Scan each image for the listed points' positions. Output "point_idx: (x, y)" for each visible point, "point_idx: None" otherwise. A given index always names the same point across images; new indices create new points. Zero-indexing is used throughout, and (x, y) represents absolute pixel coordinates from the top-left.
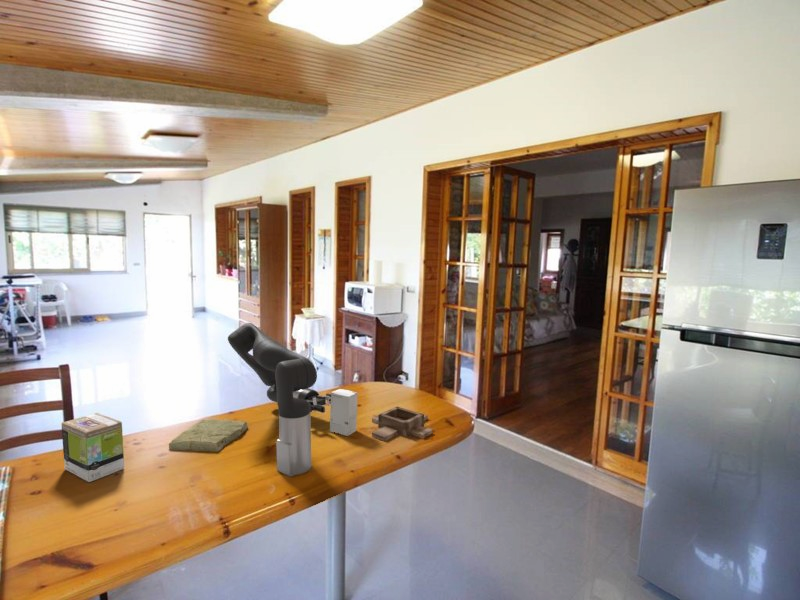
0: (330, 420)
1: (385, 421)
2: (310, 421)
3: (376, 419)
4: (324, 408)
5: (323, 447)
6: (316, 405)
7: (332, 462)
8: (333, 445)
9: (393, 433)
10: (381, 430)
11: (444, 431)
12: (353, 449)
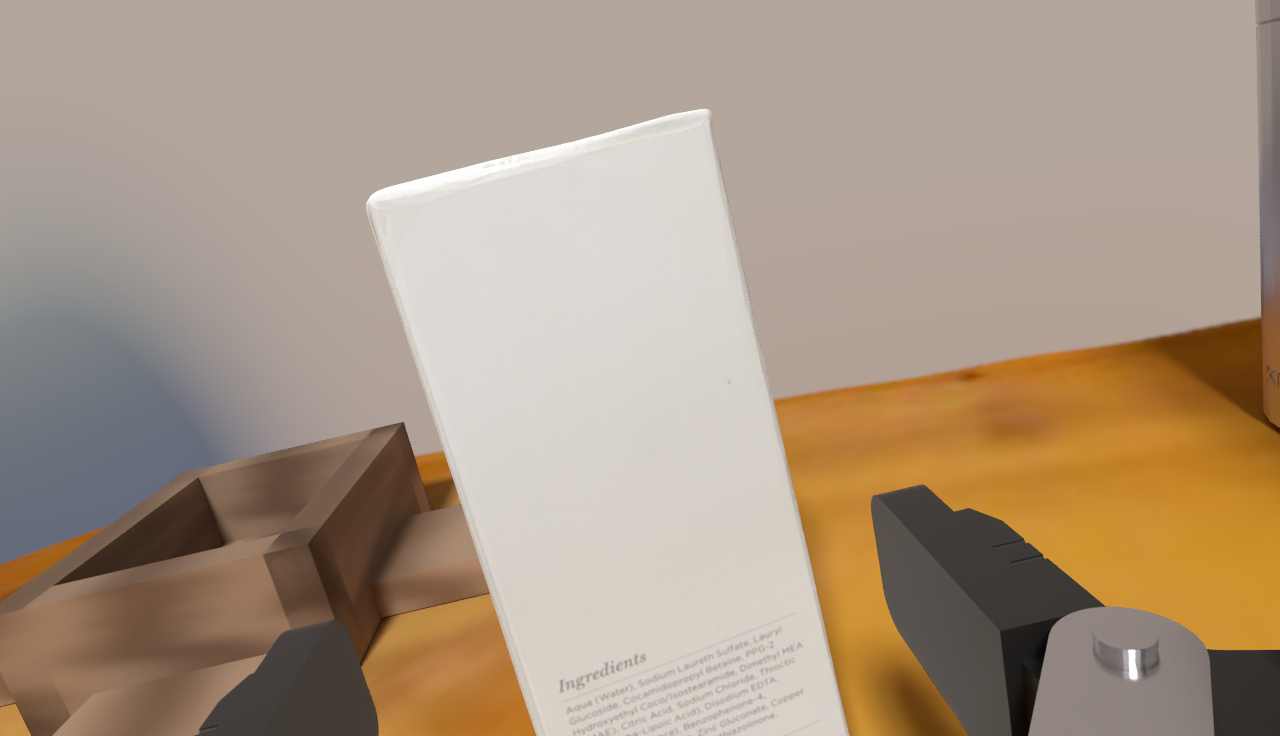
0: (833, 667)
1: (356, 543)
2: (1257, 21)
3: None
4: (884, 519)
5: (1103, 566)
6: (1073, 638)
7: (1069, 425)
8: None
9: None
10: None
11: None
12: (839, 491)
